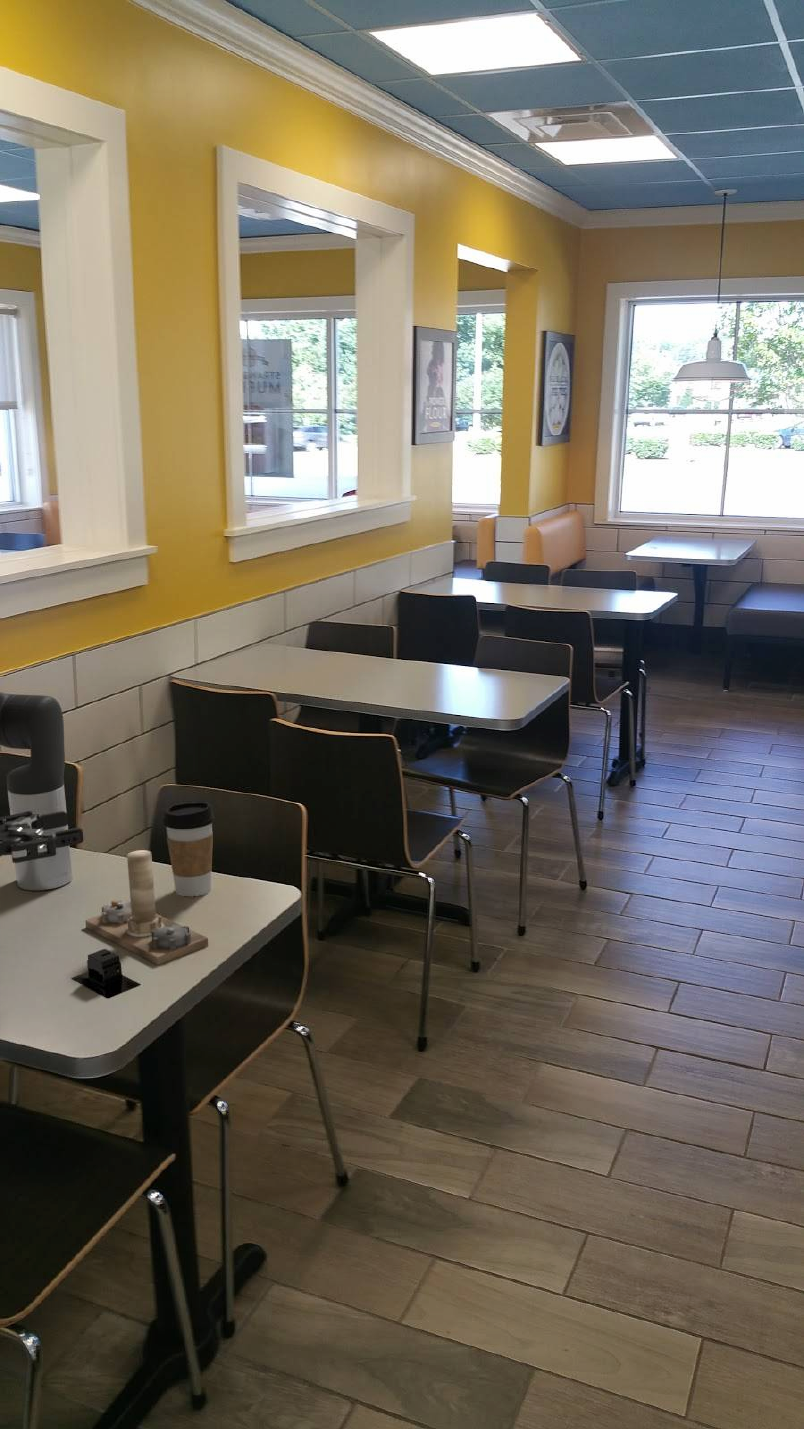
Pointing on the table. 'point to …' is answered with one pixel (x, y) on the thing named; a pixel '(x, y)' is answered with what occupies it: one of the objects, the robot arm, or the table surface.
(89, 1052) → the table surface
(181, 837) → the coffee cup
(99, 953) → the black block stand
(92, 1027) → the table surface
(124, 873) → the table surface
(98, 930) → the gear board
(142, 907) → the spindle gear
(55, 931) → the table surface
